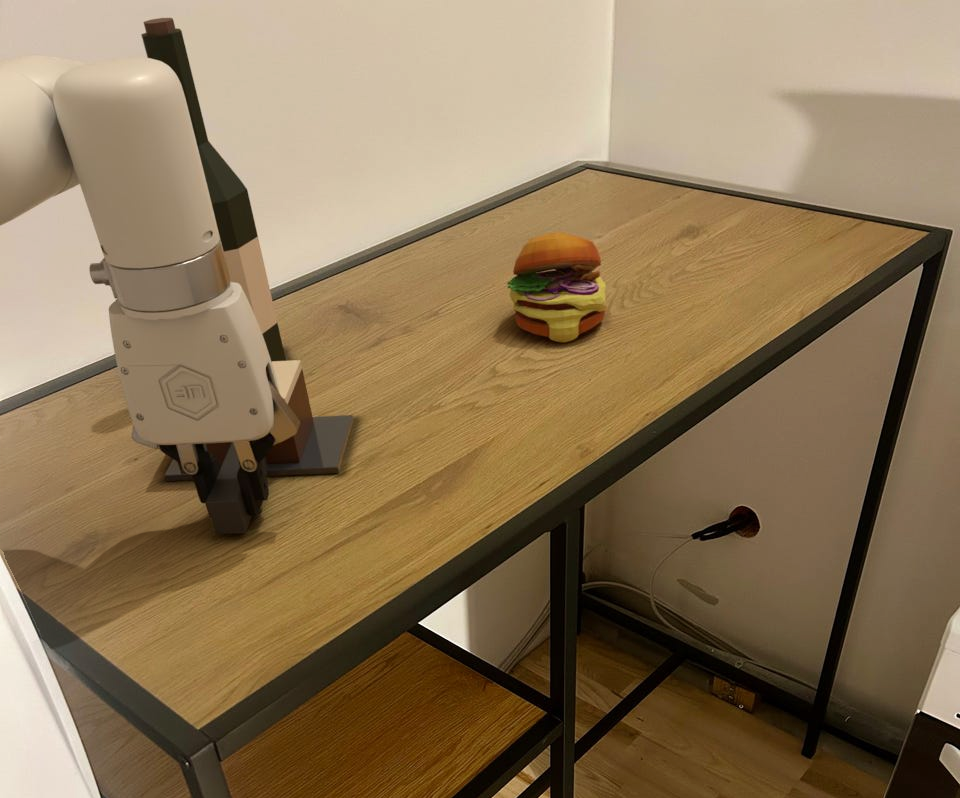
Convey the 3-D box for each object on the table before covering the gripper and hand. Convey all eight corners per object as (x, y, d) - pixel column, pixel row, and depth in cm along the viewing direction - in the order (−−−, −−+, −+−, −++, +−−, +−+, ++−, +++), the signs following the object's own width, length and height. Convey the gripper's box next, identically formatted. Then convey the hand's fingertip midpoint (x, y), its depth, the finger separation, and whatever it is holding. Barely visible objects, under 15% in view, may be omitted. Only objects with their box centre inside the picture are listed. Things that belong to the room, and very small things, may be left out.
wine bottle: (278, 380, 94) (195, 25, 74) (196, 385, 95) (92, 34, 75) (293, 344, 101) (219, 7, 81) (216, 349, 101) (124, 16, 81)
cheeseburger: (513, 349, 95) (504, 242, 90) (509, 331, 104) (501, 233, 100) (614, 339, 95) (611, 230, 90) (602, 322, 104) (598, 222, 99)
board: (166, 481, 81) (164, 475, 81) (194, 428, 88) (192, 422, 88) (338, 473, 80) (337, 467, 80) (353, 420, 87) (352, 414, 87)
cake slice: (259, 464, 81) (242, 400, 77) (275, 423, 86) (260, 361, 82) (299, 462, 81) (285, 398, 77) (313, 421, 86) (300, 359, 82)
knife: (245, 533, 74) (236, 501, 72) (215, 534, 74) (205, 502, 72) (288, 415, 87) (281, 385, 85) (263, 417, 87) (255, 387, 85)
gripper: (33, 306, 61) (125, 539, 74) (278, 291, 60) (330, 531, 72) (75, 263, 67) (154, 486, 79) (299, 248, 66) (344, 477, 78)
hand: (237, 505), depth 76 cm, fingers closed on knife, 2 cm apart
